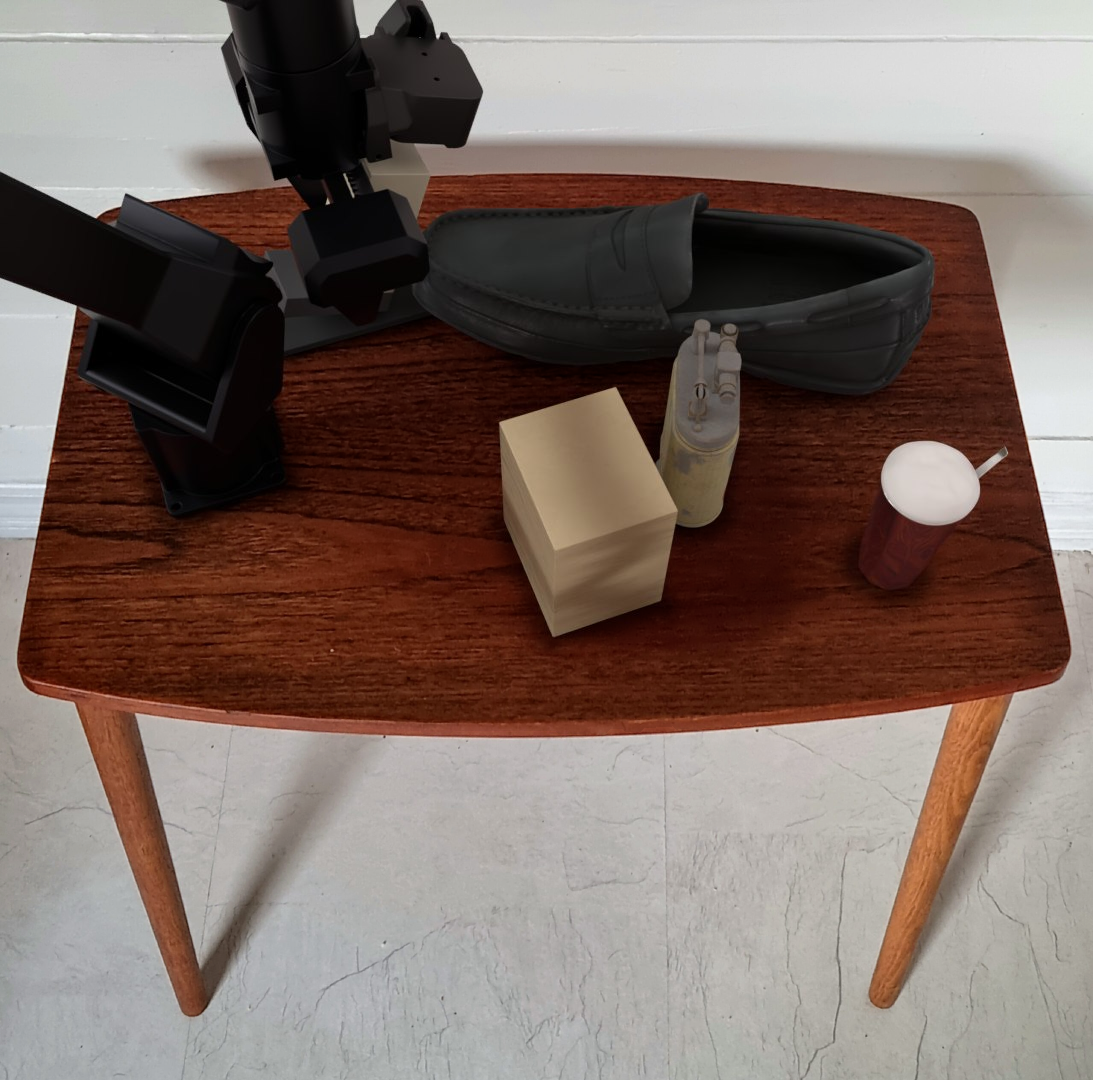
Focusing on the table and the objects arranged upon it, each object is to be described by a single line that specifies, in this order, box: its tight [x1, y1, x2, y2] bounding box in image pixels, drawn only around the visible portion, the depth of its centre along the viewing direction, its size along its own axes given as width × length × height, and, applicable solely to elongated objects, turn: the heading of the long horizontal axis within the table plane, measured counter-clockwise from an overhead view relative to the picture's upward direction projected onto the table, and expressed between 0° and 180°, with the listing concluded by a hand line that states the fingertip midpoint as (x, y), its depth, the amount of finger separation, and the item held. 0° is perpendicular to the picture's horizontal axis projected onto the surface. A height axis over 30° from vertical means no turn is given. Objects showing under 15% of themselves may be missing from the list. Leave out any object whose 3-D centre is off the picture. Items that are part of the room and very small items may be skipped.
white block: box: [263, 139, 432, 318], centre depth 68 cm, size 4×6×10 cm, turn 114°
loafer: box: [412, 192, 936, 397], centre depth 68 cm, size 10×29×10 cm, turn 85°
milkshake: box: [858, 440, 1009, 591], centre depth 60 cm, size 4×5×10 cm
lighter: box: [654, 319, 741, 528], centre depth 63 cm, size 7×4×10 cm, turn 176°
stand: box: [498, 386, 678, 638], centre depth 60 cm, size 6×8×9 cm
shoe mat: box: [284, 284, 434, 358], centre depth 73 cm, size 12×6×1 cm, turn 111°
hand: (343, 264), depth 71 cm, fingers open, 9 cm apart
